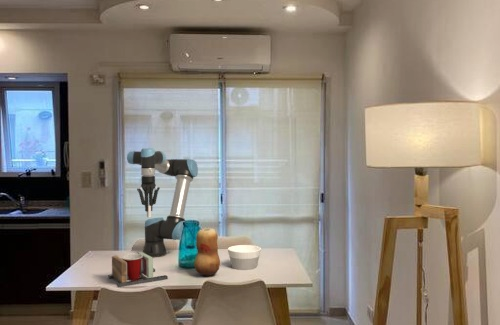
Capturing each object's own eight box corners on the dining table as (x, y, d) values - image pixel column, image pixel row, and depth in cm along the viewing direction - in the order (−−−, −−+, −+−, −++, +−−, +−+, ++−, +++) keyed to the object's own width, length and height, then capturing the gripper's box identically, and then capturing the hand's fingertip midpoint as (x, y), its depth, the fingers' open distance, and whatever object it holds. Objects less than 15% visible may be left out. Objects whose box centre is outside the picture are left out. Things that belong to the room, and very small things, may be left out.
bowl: (245, 273, 255) (245, 253, 254) (220, 267, 268) (220, 248, 267) (268, 266, 269) (268, 248, 269) (243, 261, 282) (243, 243, 282)
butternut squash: (191, 278, 245) (190, 230, 245) (198, 271, 259) (198, 226, 258) (217, 279, 243) (216, 231, 242) (222, 272, 256) (222, 227, 255)
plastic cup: (146, 279, 241) (143, 256, 240) (125, 283, 237) (122, 260, 236) (144, 273, 251) (141, 251, 250) (123, 277, 248) (120, 255, 247)
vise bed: (153, 270, 260) (153, 250, 260) (167, 279, 244) (167, 257, 244) (108, 277, 246) (108, 256, 246) (120, 287, 230) (119, 263, 230)
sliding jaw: (142, 270, 255) (141, 251, 254) (153, 277, 241) (152, 257, 241) (136, 271, 253) (136, 252, 253) (147, 277, 240) (147, 258, 239)
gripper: (139, 176, 259) (140, 219, 260) (161, 175, 266) (162, 216, 267) (134, 175, 265) (135, 217, 266) (156, 174, 273) (157, 215, 274)
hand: (148, 217), depth 267 cm, fingers closed
